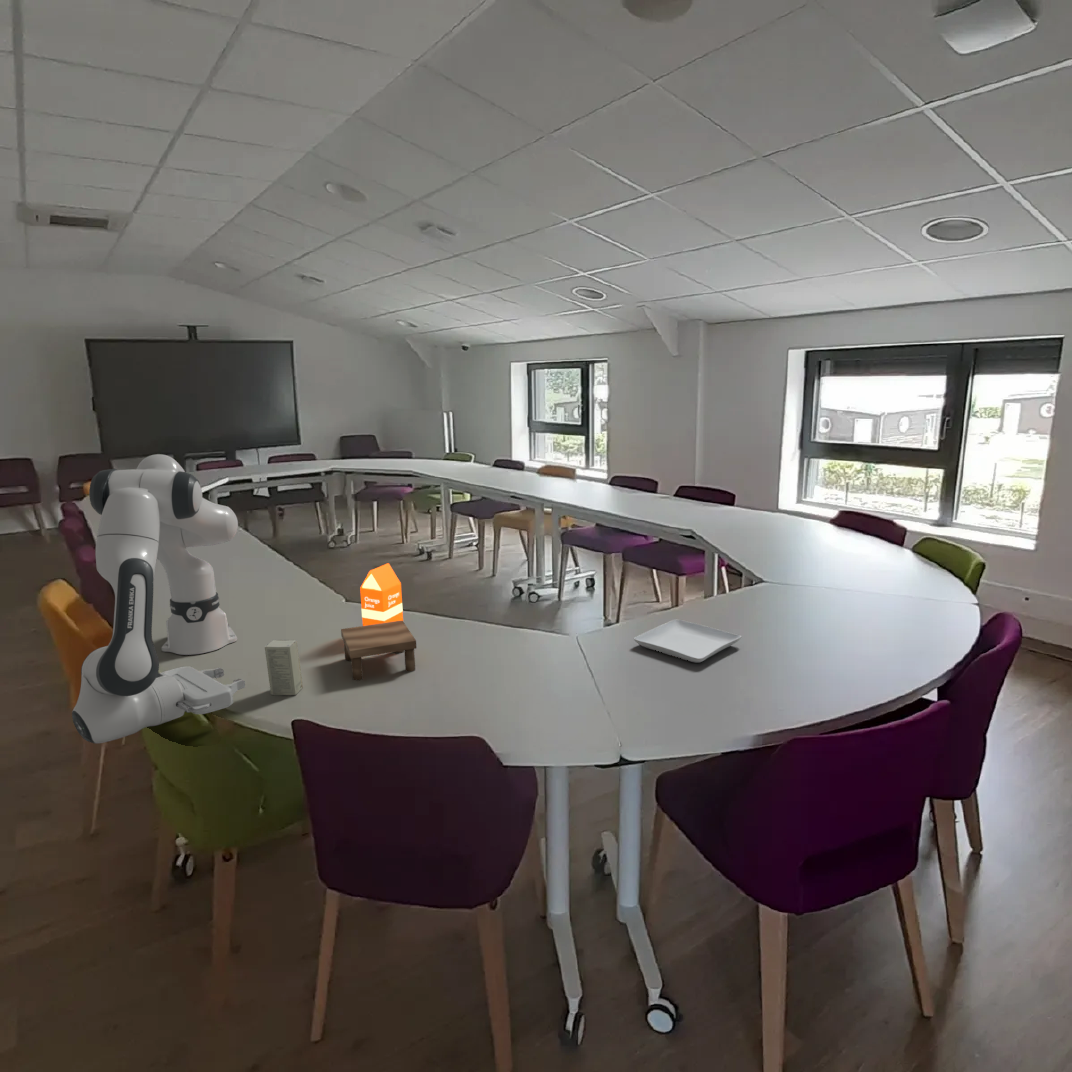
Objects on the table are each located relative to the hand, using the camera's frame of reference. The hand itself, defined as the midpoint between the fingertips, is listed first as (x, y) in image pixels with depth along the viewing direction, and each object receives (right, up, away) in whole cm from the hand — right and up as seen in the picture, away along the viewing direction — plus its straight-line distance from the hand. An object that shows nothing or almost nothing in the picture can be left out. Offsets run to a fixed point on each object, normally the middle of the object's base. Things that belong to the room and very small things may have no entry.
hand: (232, 676), depth 154 cm
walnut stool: (+27, -2, +26) cm, 37 cm away
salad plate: (+107, +1, +35) cm, 113 cm away
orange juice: (+23, +3, +47) cm, 52 cm away
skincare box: (+8, -6, +11) cm, 15 cm away
